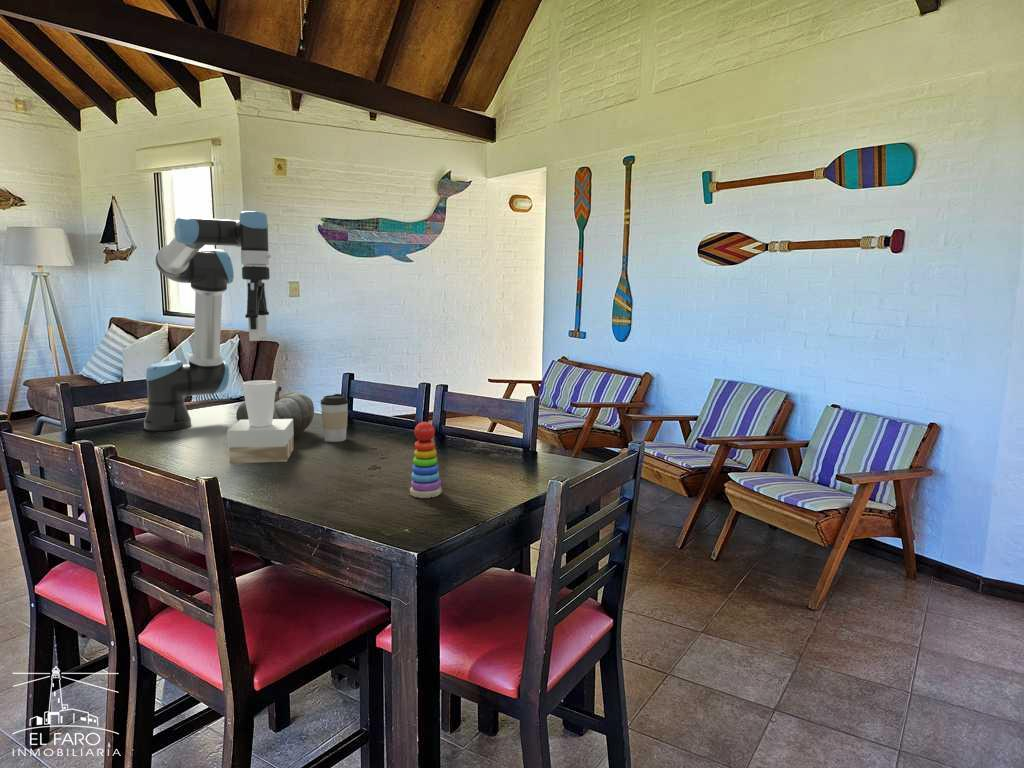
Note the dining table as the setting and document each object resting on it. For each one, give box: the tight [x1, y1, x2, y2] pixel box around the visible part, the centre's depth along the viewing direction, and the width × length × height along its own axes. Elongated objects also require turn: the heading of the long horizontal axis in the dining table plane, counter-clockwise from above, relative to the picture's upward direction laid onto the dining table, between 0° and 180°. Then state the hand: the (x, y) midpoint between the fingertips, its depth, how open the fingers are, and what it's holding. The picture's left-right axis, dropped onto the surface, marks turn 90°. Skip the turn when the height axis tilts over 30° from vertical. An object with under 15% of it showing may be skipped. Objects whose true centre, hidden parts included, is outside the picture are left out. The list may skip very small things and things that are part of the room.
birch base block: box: [228, 436, 295, 464], centre depth 209 cm, size 16×16×5 cm
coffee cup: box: [319, 393, 349, 443], centre depth 230 cm, size 9×9×15 cm
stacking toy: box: [409, 421, 443, 499], centre depth 172 cm, size 8×8×19 cm
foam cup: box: [241, 379, 277, 427], centre depth 206 cm, size 10×9×13 cm
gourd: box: [235, 385, 315, 438], centre depth 234 cm, size 25×25×17 cm
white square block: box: [226, 419, 294, 449], centre depth 209 cm, size 16×16×5 cm
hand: (258, 338), depth 204 cm, fingers open, 13 cm apart
